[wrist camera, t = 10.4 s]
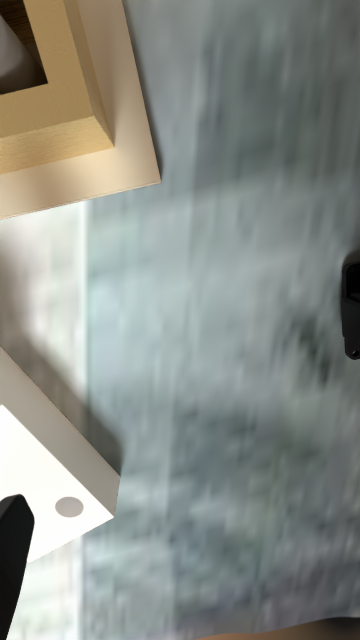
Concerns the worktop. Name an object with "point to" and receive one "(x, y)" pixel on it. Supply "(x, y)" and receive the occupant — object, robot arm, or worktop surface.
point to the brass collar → (52, 90)
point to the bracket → (50, 465)
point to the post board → (121, 110)
